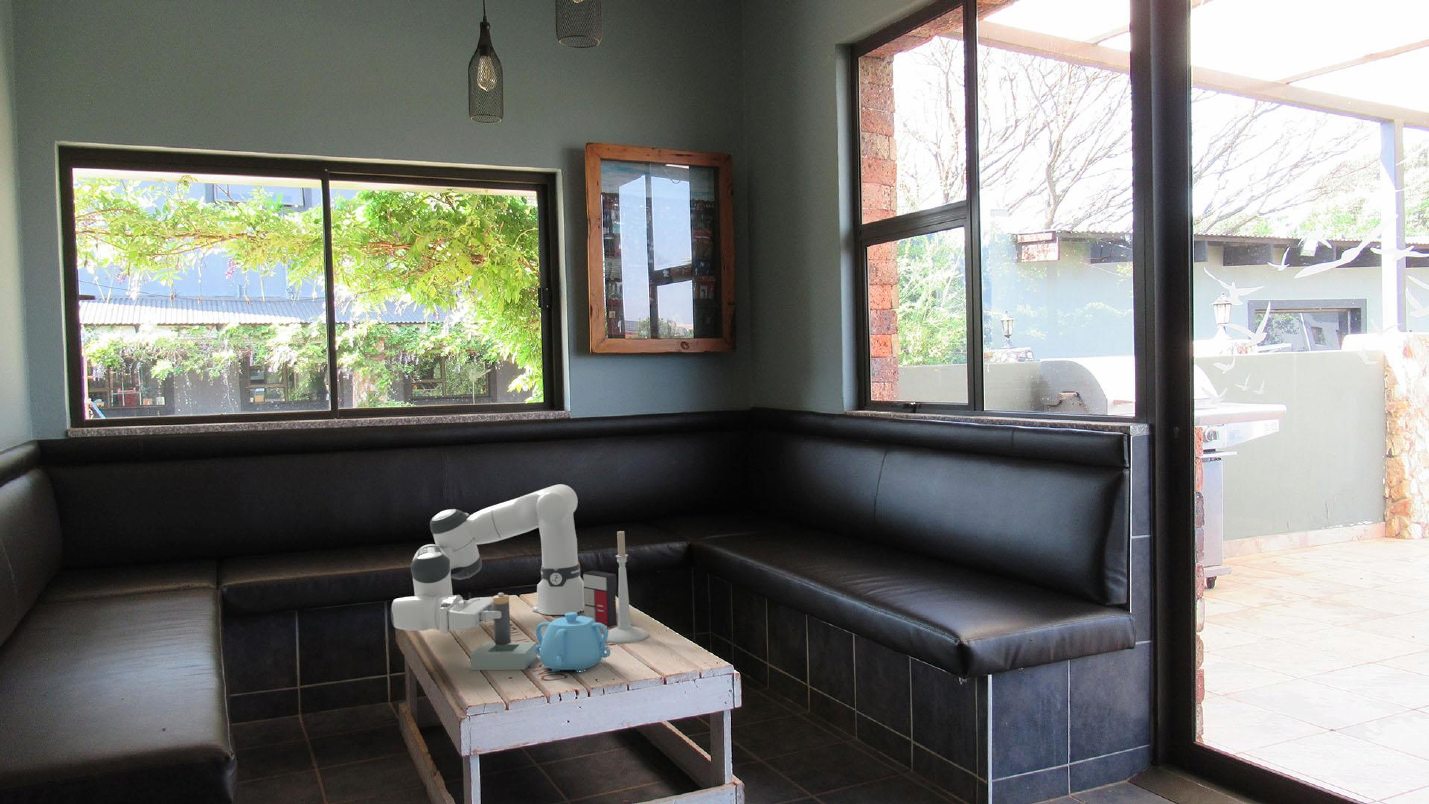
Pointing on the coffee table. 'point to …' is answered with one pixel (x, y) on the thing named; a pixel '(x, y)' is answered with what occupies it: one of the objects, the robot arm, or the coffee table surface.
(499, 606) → the battery cell
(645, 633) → the candlestick
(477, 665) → the block
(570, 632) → the decorative pot
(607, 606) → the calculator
